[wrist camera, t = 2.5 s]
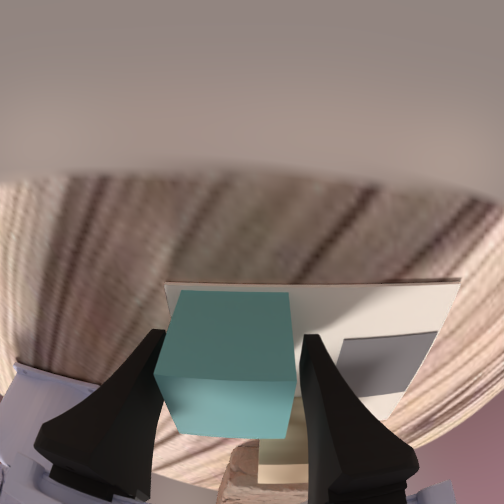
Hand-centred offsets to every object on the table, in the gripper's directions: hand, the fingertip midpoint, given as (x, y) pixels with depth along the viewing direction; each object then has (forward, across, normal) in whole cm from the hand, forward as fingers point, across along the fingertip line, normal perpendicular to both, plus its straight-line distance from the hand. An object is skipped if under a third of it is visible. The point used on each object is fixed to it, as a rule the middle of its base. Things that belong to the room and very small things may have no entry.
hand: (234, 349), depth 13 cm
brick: (+2, -2, +24) cm, 24 cm away
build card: (+1, -4, +4) cm, 6 cm away
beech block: (+1, -4, +8) cm, 9 cm away
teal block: (+1, 0, 0) cm, 1 cm away
